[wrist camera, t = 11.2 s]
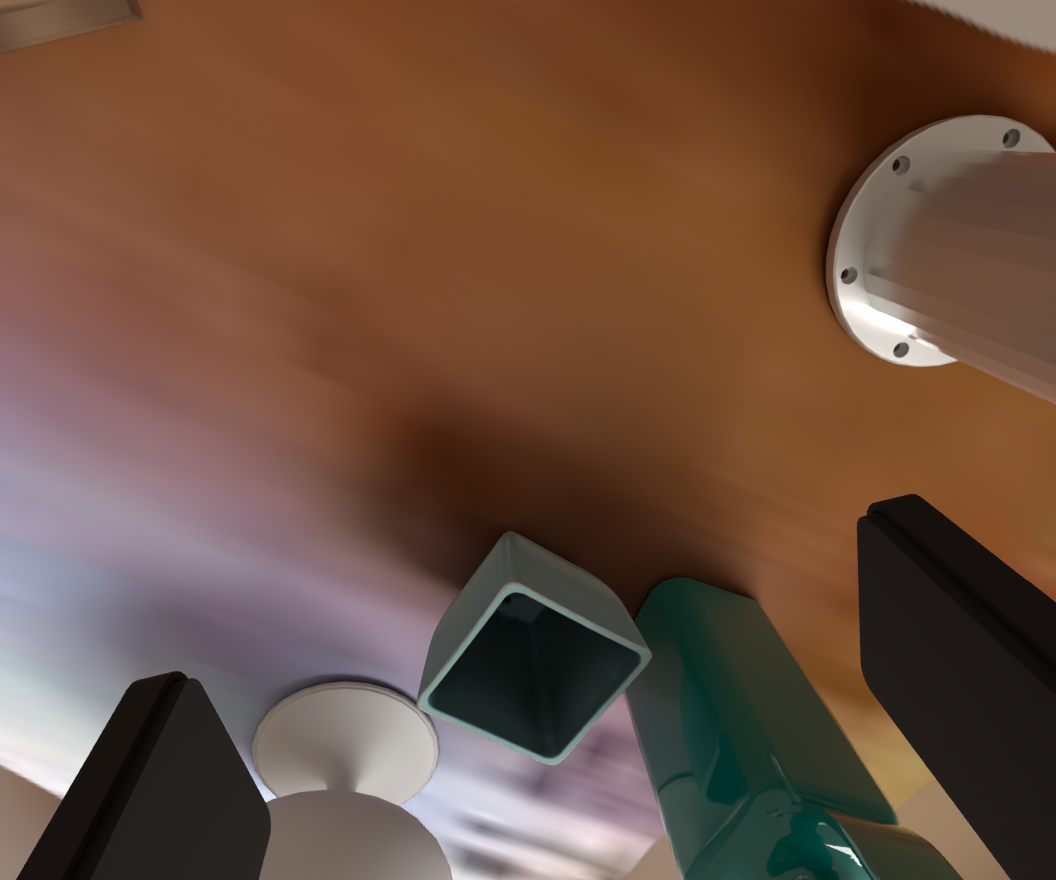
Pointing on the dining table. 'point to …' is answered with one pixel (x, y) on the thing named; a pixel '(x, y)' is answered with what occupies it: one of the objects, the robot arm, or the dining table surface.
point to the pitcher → (755, 753)
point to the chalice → (347, 785)
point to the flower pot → (531, 652)
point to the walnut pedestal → (59, 19)
